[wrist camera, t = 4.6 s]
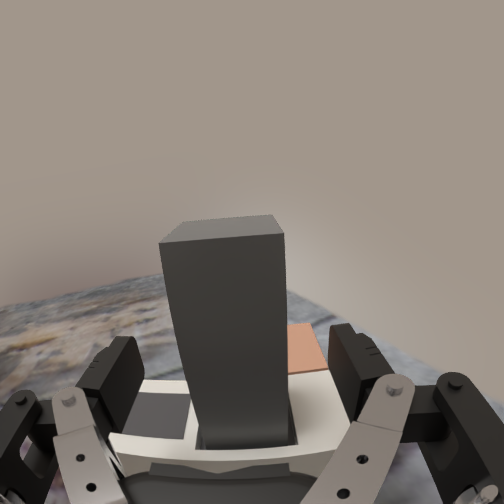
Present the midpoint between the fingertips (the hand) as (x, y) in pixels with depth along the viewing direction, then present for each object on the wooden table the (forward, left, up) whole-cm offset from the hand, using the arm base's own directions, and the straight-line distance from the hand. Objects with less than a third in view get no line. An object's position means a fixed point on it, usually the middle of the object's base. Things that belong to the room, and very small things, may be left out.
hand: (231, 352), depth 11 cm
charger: (-2, +2, -7) cm, 8 cm away
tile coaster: (-7, +12, -10) cm, 17 cm away
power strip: (-2, +2, -10) cm, 10 cm away
